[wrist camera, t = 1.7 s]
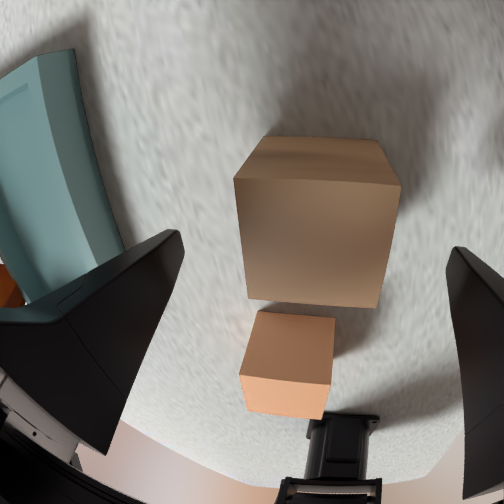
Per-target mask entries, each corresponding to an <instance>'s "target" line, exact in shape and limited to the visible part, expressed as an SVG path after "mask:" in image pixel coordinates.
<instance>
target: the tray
mask: <svg viewBox="0 0 504 504" xmlns="http://www.w3.org/2000/svg"><path fill="white" fill-rule="evenodd" d="M123 252H125V249H124V246H123V243H122V240H121V238H120V235H119V232H118V229H117V226H116V223H115V220H114V217H113V214H112V211H111V208H110V205H109V202H108V198H107V195H106V192H105V189H104V185H103V182H102V178H101V175H100V171H99V168H98V164H97V160H96V157H95V153H94V149H93V145H92V141H91V137H90V133H89V128H88V124H87V120H86V115H85V110H84V106H83V101H82V95H81V90H80V85H79V79H78V73H77V67H76V60H75V53H74V49H68V50H63V51H57V52H52V53H47V54H43V55H38V56H36V57H34V58H32V59H31V60H29V61H27V62H26V63H24V64H23V65H21V66H20V67H18V68H17V69H15V70H14V71H12V72H11V73H9V74H8V75H6V76H5V77H3V78H2V79H1V80H0V257H1V259H2V261H3V263H4V265H5V267H6V269H7V270H8V272H9V274H10V276H11V278H12V279H13V280H14V281H15V282H16V283H17V286H18V288H19V290H20V292H21V294H22V296H23V298H24V299H25V301H26V302H27V304H29V303H31V302H33V301H35V300H37V299H39V298H41V297H42V296H44V295H46V294H48V293H50V292H52V291H54V290H56V289H58V288H60V287H62V286H64V285H65V284H67V283H69V282H71V281H73V280H74V279H76V278H78V277H80V276H81V275H83V274H85V273H87V272H89V271H90V270H92V269H94V268H96V267H97V266H99V265H101V264H103V263H105V262H106V261H108V260H110V259H112V258H114V257H116V256H117V255H119V254H121V253H123Z"/></svg>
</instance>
